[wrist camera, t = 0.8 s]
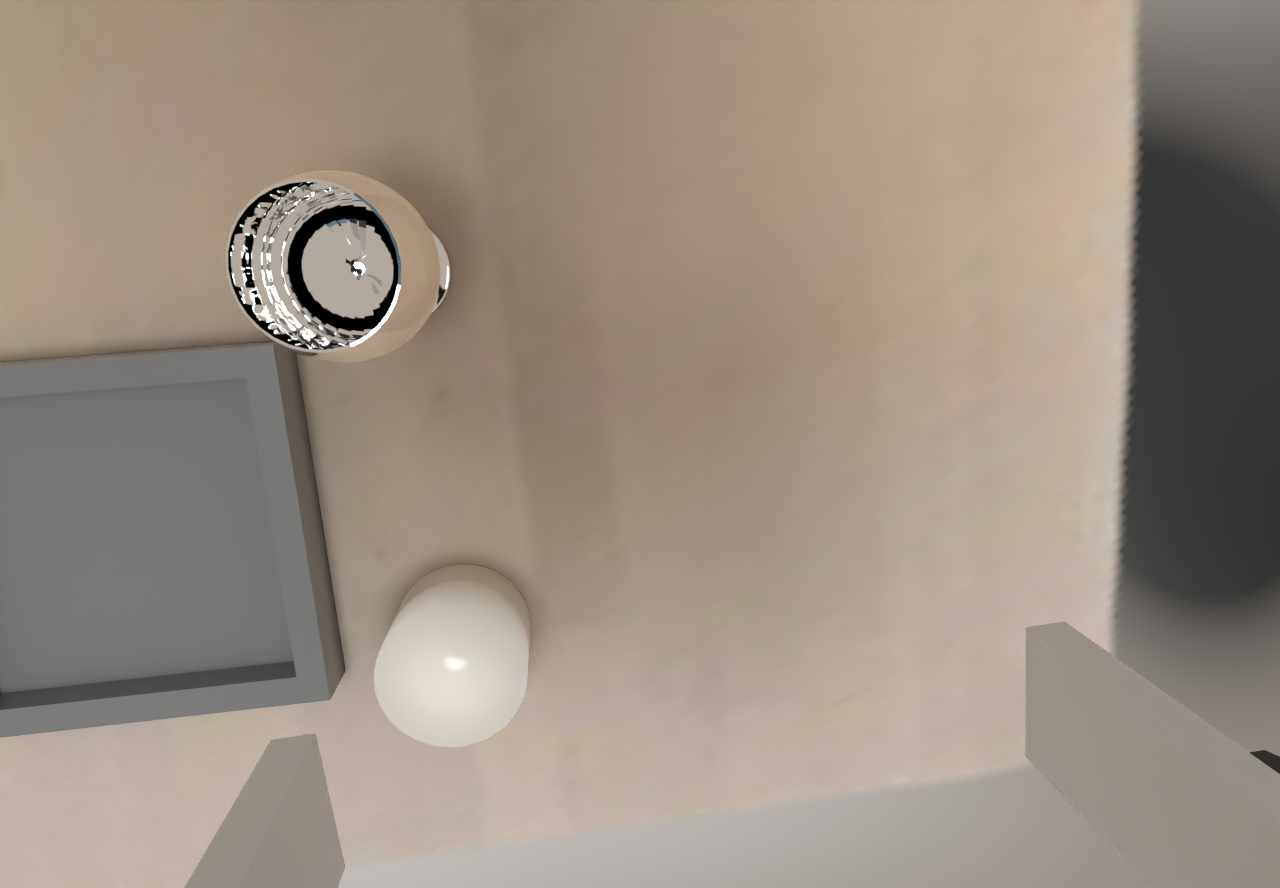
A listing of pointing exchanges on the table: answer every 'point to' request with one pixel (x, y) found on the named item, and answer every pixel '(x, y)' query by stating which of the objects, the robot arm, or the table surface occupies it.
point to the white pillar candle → (455, 657)
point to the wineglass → (335, 266)
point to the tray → (159, 539)
